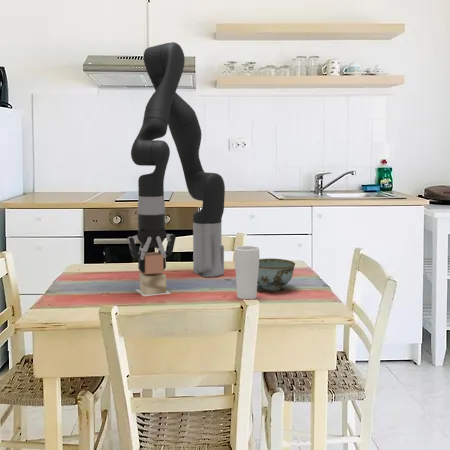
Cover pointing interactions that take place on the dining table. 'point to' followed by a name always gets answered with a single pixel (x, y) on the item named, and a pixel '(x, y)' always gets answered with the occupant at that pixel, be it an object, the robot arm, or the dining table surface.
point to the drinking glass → (247, 271)
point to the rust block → (153, 263)
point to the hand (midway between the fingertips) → (152, 271)
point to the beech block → (152, 283)
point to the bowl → (274, 273)
